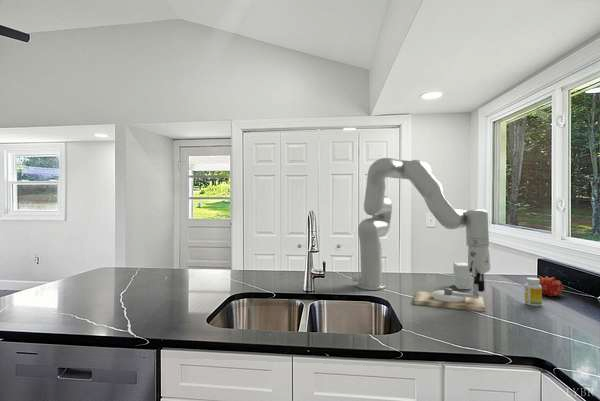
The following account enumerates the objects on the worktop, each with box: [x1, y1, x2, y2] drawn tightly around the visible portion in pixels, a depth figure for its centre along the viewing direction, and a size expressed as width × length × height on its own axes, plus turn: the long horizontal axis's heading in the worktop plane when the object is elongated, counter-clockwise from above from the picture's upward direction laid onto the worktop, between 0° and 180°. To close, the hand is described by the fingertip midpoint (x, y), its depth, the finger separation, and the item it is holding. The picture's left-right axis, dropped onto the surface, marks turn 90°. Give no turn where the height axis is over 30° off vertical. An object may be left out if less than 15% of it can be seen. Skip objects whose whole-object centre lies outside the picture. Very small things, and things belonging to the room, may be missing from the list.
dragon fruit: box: [537, 275, 565, 297], centre depth 141 cm, size 8×8×12 cm
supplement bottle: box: [524, 277, 543, 307], centre depth 130 cm, size 5×5×10 cm
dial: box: [431, 283, 480, 303], centre depth 133 cm, size 16×12×6 cm
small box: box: [452, 262, 472, 290], centre depth 156 cm, size 8×6×10 cm
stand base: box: [413, 290, 486, 312], centre depth 134 cm, size 24×14×2 cm, turn 65°
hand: (479, 290), depth 131 cm, fingers closed
